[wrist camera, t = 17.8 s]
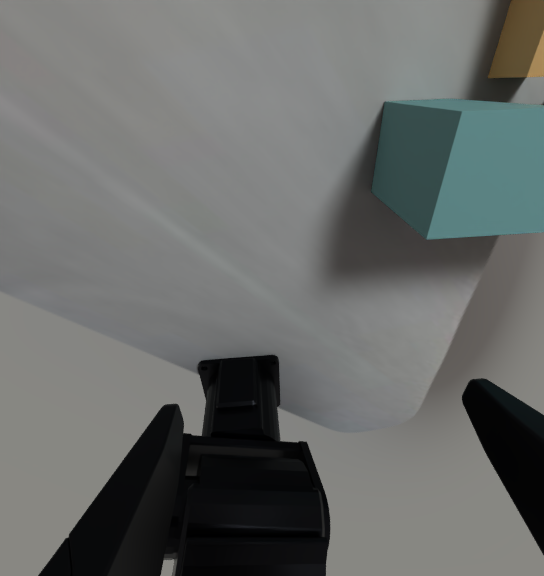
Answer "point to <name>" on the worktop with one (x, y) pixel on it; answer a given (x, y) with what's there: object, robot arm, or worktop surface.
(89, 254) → the worktop surface
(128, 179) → the worktop surface
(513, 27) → the plug
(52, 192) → the worktop surface
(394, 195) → the housing
